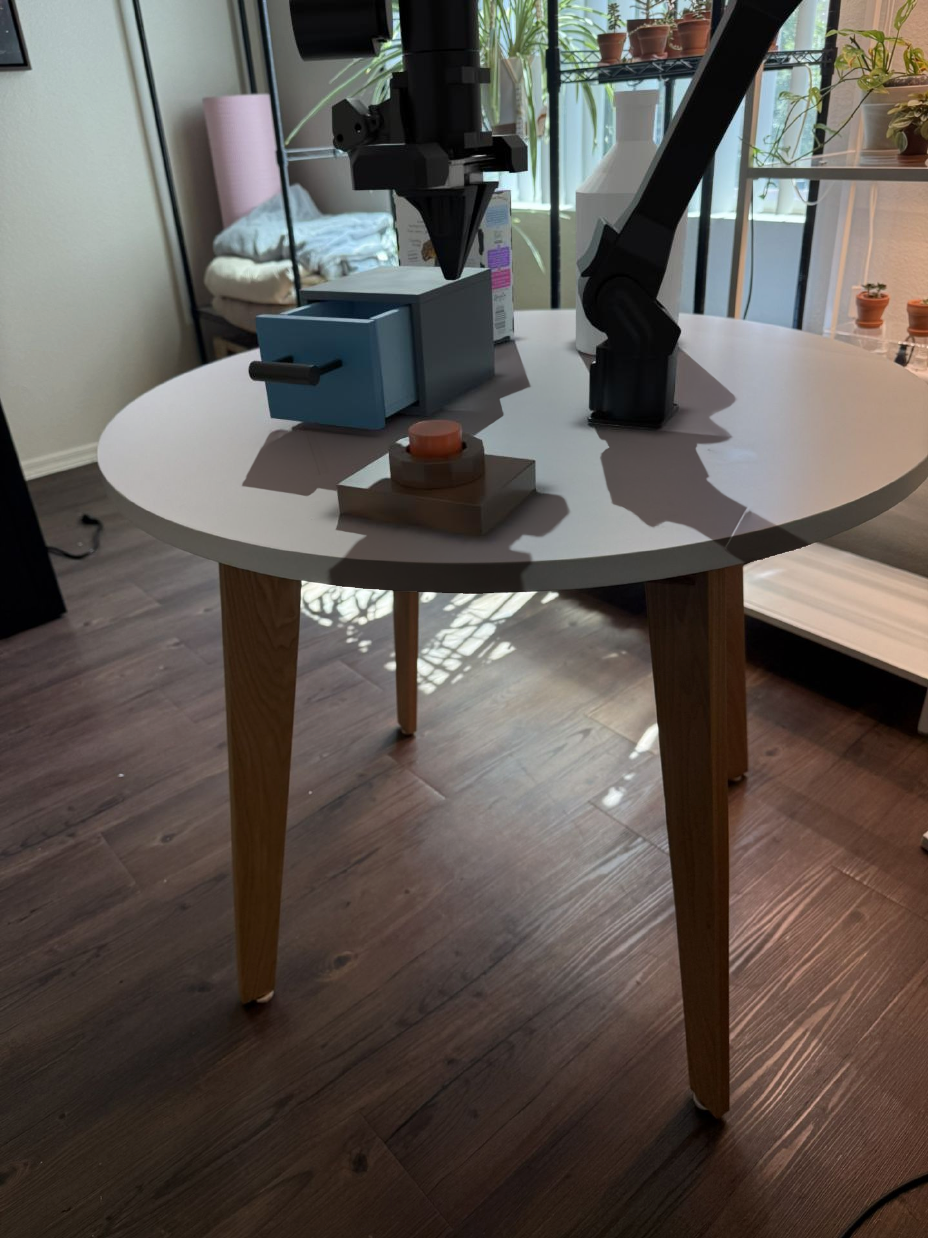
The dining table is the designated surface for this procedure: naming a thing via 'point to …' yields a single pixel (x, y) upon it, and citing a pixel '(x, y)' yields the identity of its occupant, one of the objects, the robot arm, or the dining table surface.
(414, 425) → the button
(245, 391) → the dining table surface
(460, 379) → the drawer cabinet
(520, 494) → the control block
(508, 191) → the candy box
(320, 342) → the blue drawer
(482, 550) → the dining table surface
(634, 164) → the bottle
